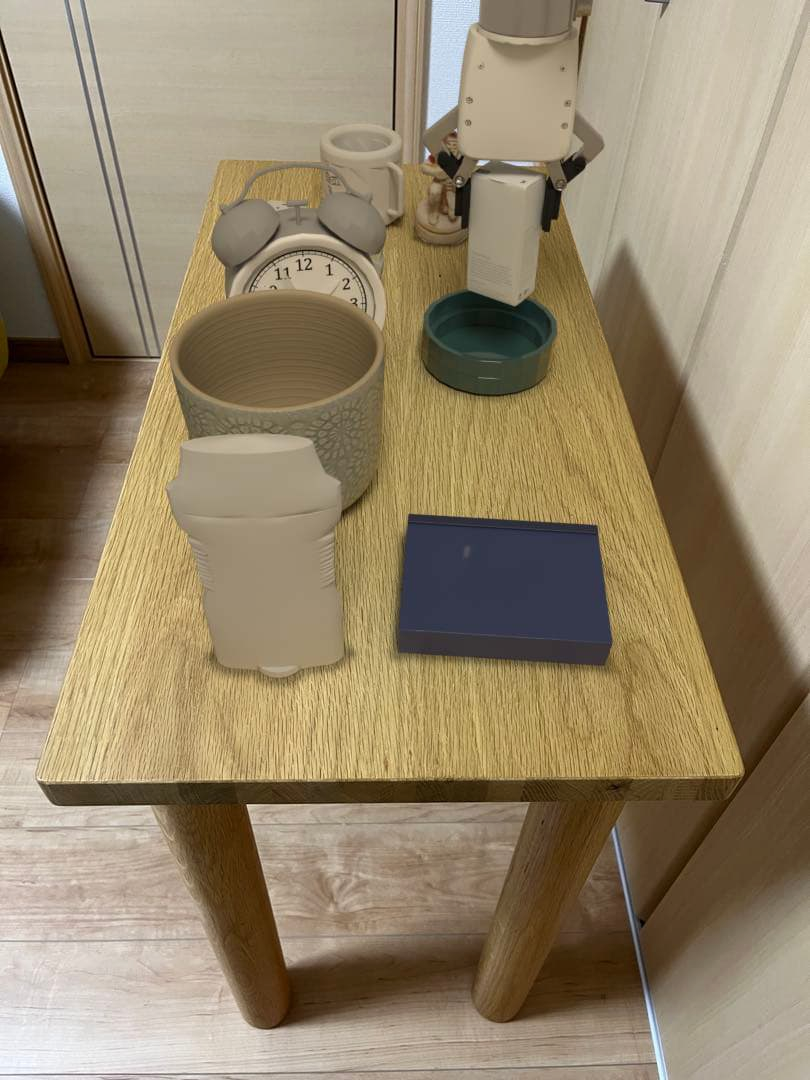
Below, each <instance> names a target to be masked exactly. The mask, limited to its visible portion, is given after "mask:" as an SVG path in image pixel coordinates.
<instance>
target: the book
mask: <svg viewBox="0 0 810 1080" xmlns="http://www.w3.org/2000/svg"><path fill="white" fill-rule="evenodd" d="M599 533H600V532H599V526H598V524H589V523H572V522H555V521H539V520H538V521H537V520H520V519H504V518H488V517H471V516H455V515H454V516H453V515H436V514H422V513H421V514H419V513H408V514H407V525H406V536H405V537H406V538H405V549H404V561H403V572H402V583H401V596H400V607H399V619H398V620H399V621H398V630H397V631H398V633H397V634H398V635H397V636H398V637H397V653H401V654H415V655H416V654H417V655H432V656H445V657H446V656H449V657H463V658H479V659H491V660H493V659H494V660H510V661H525V662H539V663H555V664H556V663H557V664H569V665H570V664H571V665H573V664H574V665H586V666H587V665H588V666H601V667H602V666H603V667H604V666H605V665H606V663H607V660H608V658H609V654H610V653H611V652H610V651H611V649H612V646H613V637H612V629H611V627H612V626H611V620H610V613H609V605H608V599H607V598H608V597H607V591H606V584H605V576H604V567H603V561H602V553H601V545H600V536H599V535H600V534H599Z"/></svg>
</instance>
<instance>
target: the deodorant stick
mask: <svg viewBox="0 0 810 1080" xmlns="http://www.w3.org/2000/svg"><path fill="white" fill-rule="evenodd" d="M164 489H165V492H166V496H167V499H168V503H169V507H170V510H171V513H172V515H173V518H174V521H175V522H176V524H177V526H178V528H179V529H180V530H181V531H183V532H184V533H185V534H187V537H186V539H187V541H188V544H189V545H190V549H191V551H192V554H193V555H194V561H195V564H196V567H197V571H198V576H199V579H200V583H201V585H202V586H203V587H204V588H203V589H204V590H203V594H202V599H201V605H202V608H203V612H204V616H205V620H206V624H207V628H208V632H209V635H210V638H211V642H212V646H213V650H214V655H215V658H216V660H217V663H218V664H220V665H222V666H224V667H225V668H228V669H238V670H249V671H259V672H260V673H261V674H263V675H264V676H267V677H269V678H275V679H281V678H287V677H291V676H293V675H294V674H296V673H297V672H299V671H300V670H304V669H310V668H316V667H322V666H329V665H333V664H335V663H337V662H339V661H341V660H342V658H343V657H344V655H345V642H344V624H343V607H342V606H343V605H342V596H341V594H340V592H339V591H338V590H337V587H336V585H335V584H334V581H335V580H336V575H335V573H336V571H335V570H336V569H335V551H334V549H335V547H334V545H335V537H336V536H335V535H336V532H335V530H334V529H335V527H336V526H337V525H338V524H339V522H340V521H341V518H342V512H343V511H342V501H341V482H340V481H339V480H338V479H337V478H336V477H334V476H332V475H331V474H329V473H327V472H325V471H324V469H323V467H322V465H321V463H320V460H319V458H318V456H317V453H316V450H315V447H314V443H313V442H312V441H311V440H310V439H307V438H303V437H299V436H291V435H280V434H232V435H219V436H208V437H202V438H196V439H192V440H190V439H188V440H186V441H183V442H182V443H180V444H179V463H178V471H177V475H176V476H175V477H174V478H173V479H172V480H170V481H169V482H168V483H167V484H166V485H164ZM341 511H342V512H341Z"/></svg>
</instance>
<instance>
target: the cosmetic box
mask: <svg viewBox="0 0 810 1080" xmlns="http://www.w3.org/2000/svg"><path fill="white" fill-rule="evenodd" d="M470 177H471V195H470V210H469V225H468V236H467V238H468V239H467V261H466V262H467V266H466V284H465V285H466V287H465V289H467V290H470V291H472V292H475V293H478V294H481V295H484V296H486V297H489V298H492V299H495V300H498V301H501V302H503V303H506V304H509V305H512V306H517V305H518V304H519V303H521V302H522V301H523V300H524V299H526V298H527V297H530V295H532V294H533V293H534V291H535V290H536V289H535V287H536V277H537V270H538V261H539V251H540V243H541V242H540V241H541V233H542V226H541V223H542V215H543V207H544V196H545V188H546V180H548V174H547V173H545V172H542V171H537V170H533V169H530V168H526V167H523V166H519V165H515V164H512V163H508V162H506V161H488V162H486V163H484V164H483V165H482V166H480V167H479V168H477V169H476V170H473V172H472V173H471V175H470Z"/></svg>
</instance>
